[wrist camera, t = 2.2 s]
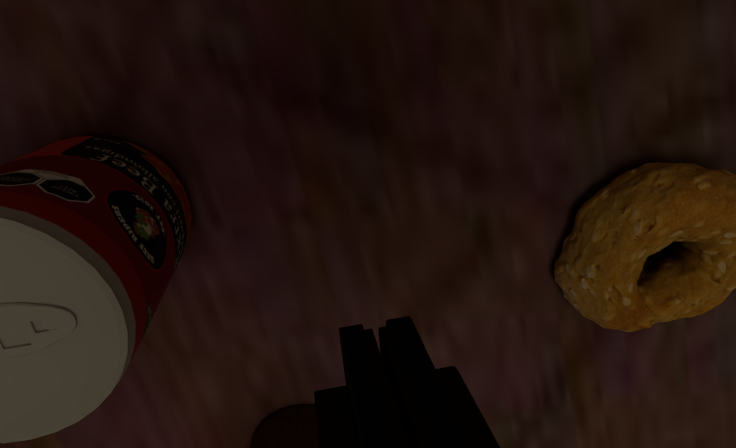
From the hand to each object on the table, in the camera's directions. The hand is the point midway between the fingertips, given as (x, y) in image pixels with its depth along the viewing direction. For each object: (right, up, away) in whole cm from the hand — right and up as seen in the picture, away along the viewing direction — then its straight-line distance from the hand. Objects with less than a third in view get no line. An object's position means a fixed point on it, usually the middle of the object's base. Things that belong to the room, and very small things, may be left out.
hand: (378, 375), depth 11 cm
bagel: (+16, +3, +18) cm, 24 cm away
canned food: (-13, +4, +13) cm, 18 cm away
